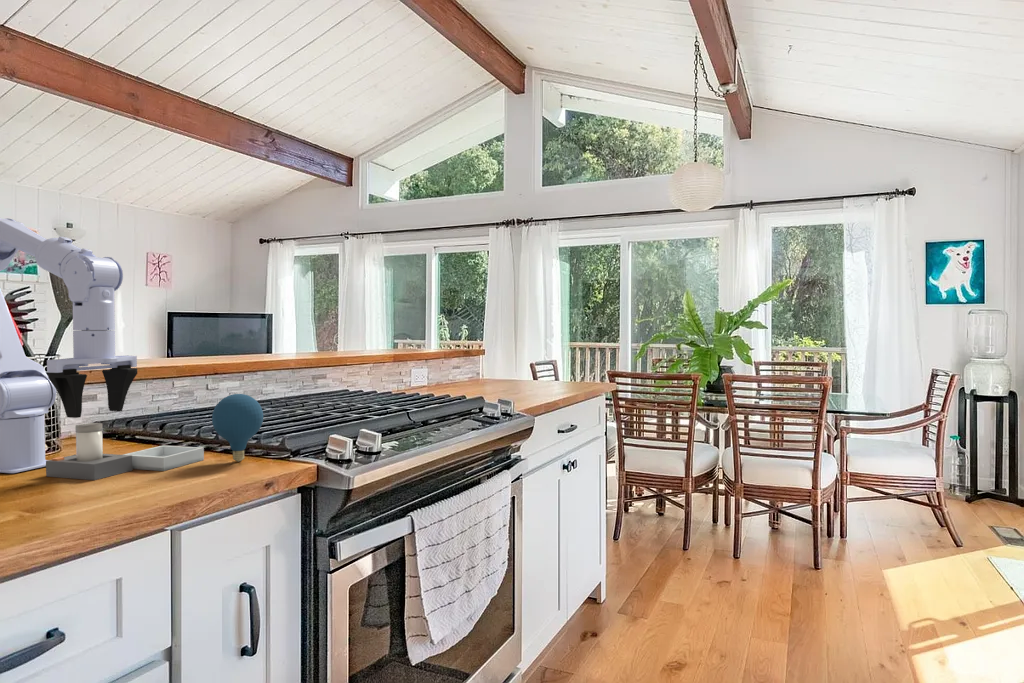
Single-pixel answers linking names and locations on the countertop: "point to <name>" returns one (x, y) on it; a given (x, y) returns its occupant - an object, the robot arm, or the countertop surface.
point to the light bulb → (237, 421)
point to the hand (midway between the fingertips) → (95, 414)
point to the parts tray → (165, 457)
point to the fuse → (89, 442)
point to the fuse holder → (88, 467)
